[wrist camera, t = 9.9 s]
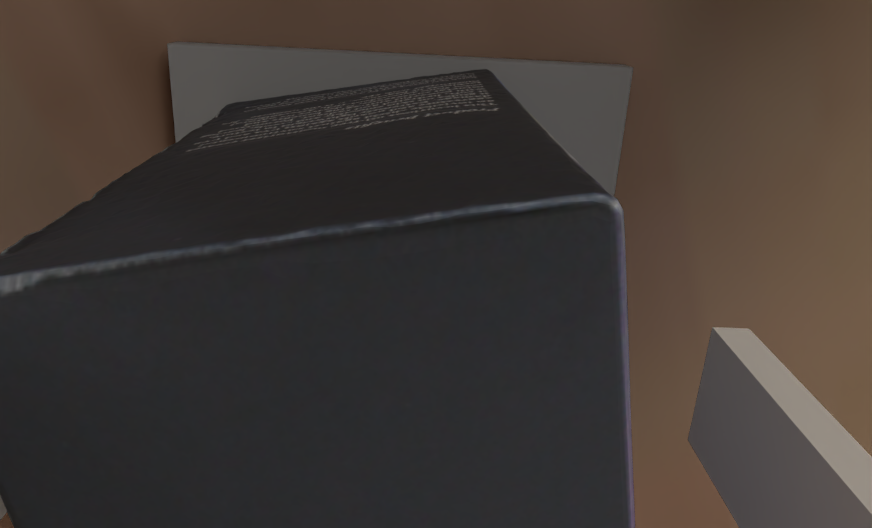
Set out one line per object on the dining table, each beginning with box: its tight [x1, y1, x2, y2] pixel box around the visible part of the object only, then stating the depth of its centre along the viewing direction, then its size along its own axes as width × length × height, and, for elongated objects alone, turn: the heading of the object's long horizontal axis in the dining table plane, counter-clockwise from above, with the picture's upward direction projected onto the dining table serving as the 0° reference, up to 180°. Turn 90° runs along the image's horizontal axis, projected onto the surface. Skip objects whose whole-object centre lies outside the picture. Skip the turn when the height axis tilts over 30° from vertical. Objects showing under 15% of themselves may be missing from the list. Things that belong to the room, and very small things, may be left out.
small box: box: [0, 69, 635, 528], centre depth 12 cm, size 11×6×10 cm, turn 8°
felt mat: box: [167, 42, 633, 196], centre depth 18 cm, size 10×12×1 cm
